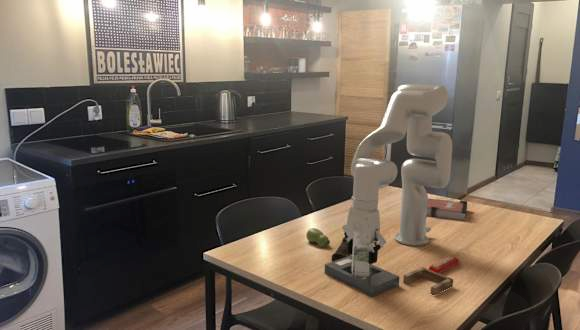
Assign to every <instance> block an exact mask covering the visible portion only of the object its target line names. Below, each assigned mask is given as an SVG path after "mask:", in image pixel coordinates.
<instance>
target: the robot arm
mask: <svg viewBox="0 0 580 330" xmlns="http://www.w3.org/2000/svg"><path fill="white" fill-rule="evenodd" d="M448 93H449V92H448V89H447V88H446V87H445V86H444V85H439V84H424V83H421V84H420V83H406V84H405V83H404V84H401V85H399V86H398V87H397V90H396V91H395V92H393V94H392V95H391V96H390V98H389V99H390V100H389V101H388V105H387V107H386V110H385V113H384V115H383V118H382V120H381V123H380V125H379V127H378V128H377V129H375V130H374V131H372V132H371V133H370V134H368V135H367V136H366V137H364V139H362V140H361V142H360V143H359V145H358V146H357V148H356V150H355V153H354V155H353V157H352V161H351V165H350V173H351V177H353V186H352V187H353V188H352V191H353V192H352V196H351V197H350V200H351V201H352V205H350V207H349V210H348V215H347V220H346V224H344V225H342V231H343V232H344V237H346V238H347V239H346V241H347V242H348V251H347V253H346V255H348V256H352V250H353V239H354V231H357V232H359V233H360V234H359V239H360V242H362V243H365V244H369V247H370V249H371V251H370V252H369V264H372V265H374V264H376V263H377V262H378V255H379V253H378V252H379V251H380V250H381V249H383V248H384V246H385V245H386V244H387V240H386V238H385V237H384V236H383V235H382V234H381V218H380V211H379V209H378V208H379V207H378V206H379V205H378V203H379V191H380V190H379V189H380V186H384V185H385V186H387V185H390V184H391V183H393V182H394V181H395V180H396V178H397V176H398V172H399V171H398V166H397V165H396V164H395V162H394V161H391V160H388V159H381V158H376V157H375V158H374V157H370V155H371V154H372V153H373V152H374V151H376V150H377V149H379V148H381V147H384V146H386V145H387V146H388V145H390V144H393V143H394V144H395V143H396V142H399V141H401V140H403V139H405V137H406V150H407V152H408V154H409V155H411V156H415V157H423V158H428V159H434V160H428V159H420V158H408V159H406V160H405V161H403V162H402V165H401V169H400V174H401V186H402V188H401V189H402V190H401V203H400V204H401V206H400V220H399V229H398V230H399V231H398V232H397V233H396V234H394V240H395V241H396V242H398V243H400V244H403V245H407V246H411V247H412V246H414V247H419V246H420V247H421V246H425V245H427V244H428V243H429V240H430V239H429V237H428V236H427V233H429V232H431V231H432V228H431V227H430V226H427V217H428V216H427V204H428V199H429V196H428V195H429V194H428V192H427V190H426V188H427V187H428V188H433V189H446V188H447V186H448V185H449V183H450V181H451V169H452V158H453V157H452V156H453V141H452V138H451V136H450V134H448V133H446V132H443V131H442V132H441V131H433V128H432V127H433V125H432V124H433V116H436V114H438V113H440V112H441V111H442V110H444V108H445V107H446V105H447V103H448V99H449V94H448Z"/></svg>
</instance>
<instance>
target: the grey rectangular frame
mask: <svg viewBox="0 0 580 330" xmlns="http://www.w3.org/2000/svg"><path fill="white" fill-rule="evenodd" d="M324 274H325V275H327V276H329V277H331V278H334V279H336V280H337V281H339V282H341V283H344V284H345V285H347V286H349V287H351V288H353V289H355V290H358V291H359V292H362V293H363V294H366V295H368V296H370V297H371V298H373V297H376V296H378V295H381V294H383V293H385V292H387V291H390V290H392V289H394V288H395V289H396V287H399V286H400V275H398V274H395V273H393V272H390V271H387V270H385V269H384V268H381V267H378V266H376V265H374V264H372V265H371V276H369V277H367V278H362V277H356V276H354V275H352V255H348V256H345V257H344V258H342V259H339V260H336V261H333V262H332V261H331V262H328V263H325V264H324Z"/></svg>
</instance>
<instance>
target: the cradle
mask: <svg viewBox="0 0 580 330" xmlns="http://www.w3.org/2000/svg"><path fill="white" fill-rule="evenodd" d="M421 278H425V279H428V280H430V281H433V282H435V283H436V284H433V285H432V286H430V294H432V295H435V296H437V295H439V294H441V293H443V292H444V290H445V291H447V290H449V289H451V288H453V283H454V279H453V278H452V277H448V276H446V275H443V274H442V273H441V274H439V273H436V272H434V271H431V270H429V268H426V267H424V266H422V267H420V268H417V269H415V270H412V271H410V272H408V273H406V274H403V280H402V282H403V284H406V285H408V284H410V283H413V282H414V281H417V280H419V279H421ZM450 287H451V288H450ZM448 288H449V289H448ZM446 289H447V290H446ZM442 291H443V292H442ZM440 292H441V293H440ZM438 293H439V294H438ZM436 294H437V295H436ZM432 295H431V296H432Z"/></svg>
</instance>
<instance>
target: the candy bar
mask: <svg viewBox="0 0 580 330" xmlns="http://www.w3.org/2000/svg"><path fill="white" fill-rule="evenodd" d="M459 263H460V259H459V258H457V257H456V256H455V255H448V256H446V257H443V258H442V259H440V260H438V261H436V262H434V263H432V264H431V265H430V266H429V267H428V269H429V270H431V271H434V272H436V273H439V274H441V275H442V274H443V273H444V272H446V270H447V271H449V270H450V269H452V268H454V267H456V266H458V265H459ZM457 264H458V265H457Z"/></svg>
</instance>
